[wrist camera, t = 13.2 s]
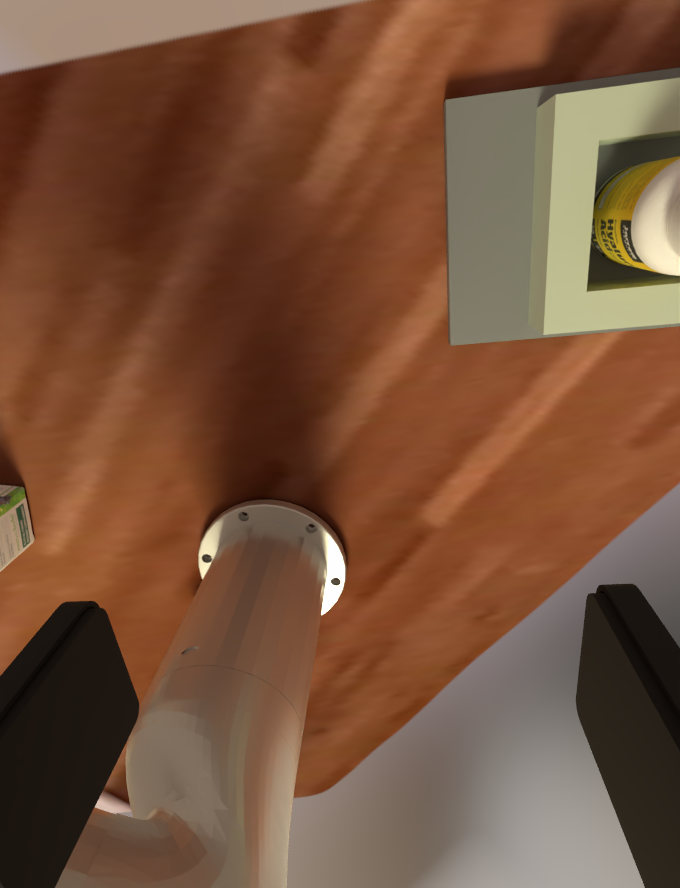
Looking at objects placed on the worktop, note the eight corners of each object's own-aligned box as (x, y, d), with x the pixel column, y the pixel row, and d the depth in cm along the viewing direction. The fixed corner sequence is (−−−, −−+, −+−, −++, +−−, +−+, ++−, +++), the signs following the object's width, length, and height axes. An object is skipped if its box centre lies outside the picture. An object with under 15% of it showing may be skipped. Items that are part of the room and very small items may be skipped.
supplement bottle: (564, 223, 31) (636, 225, 22) (639, 142, 29) (753, 108, 20) (623, 282, 32) (716, 308, 23) (700, 208, 30) (833, 205, 21)
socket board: (859, 46, 28) (947, 15, 23) (795, 311, 33) (857, 325, 29) (443, 103, 30) (453, 84, 26) (448, 341, 35) (457, 358, 31)
